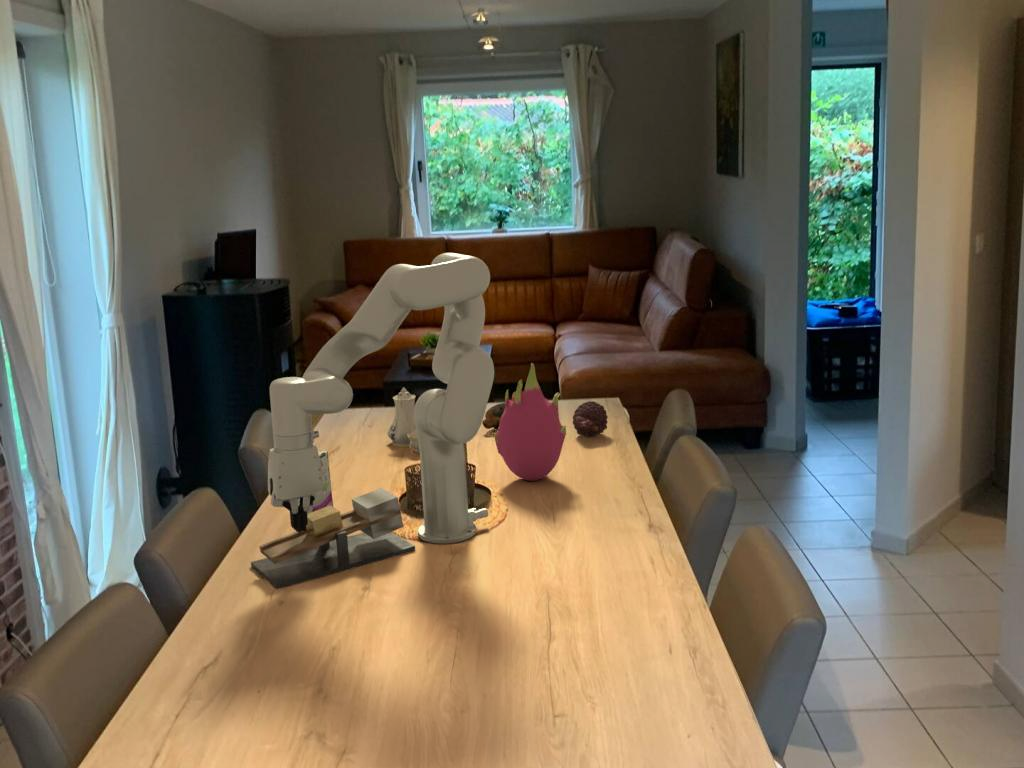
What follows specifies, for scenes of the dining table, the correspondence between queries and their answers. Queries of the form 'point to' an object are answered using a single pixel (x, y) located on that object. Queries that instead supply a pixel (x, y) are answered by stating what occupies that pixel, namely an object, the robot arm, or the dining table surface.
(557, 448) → the pink dragon fruit
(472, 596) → the dining table surface
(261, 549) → the beam
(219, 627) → the dining table surface
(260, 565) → the stand
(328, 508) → the brass block
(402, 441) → the chinaware
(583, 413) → the pine cone
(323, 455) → the candy bar box
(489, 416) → the decorative turtle
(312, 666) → the dining table surface
